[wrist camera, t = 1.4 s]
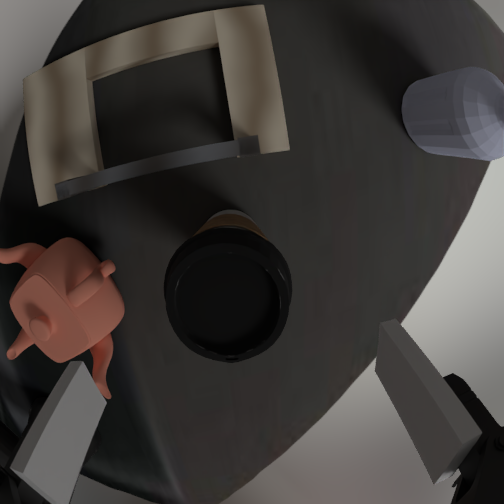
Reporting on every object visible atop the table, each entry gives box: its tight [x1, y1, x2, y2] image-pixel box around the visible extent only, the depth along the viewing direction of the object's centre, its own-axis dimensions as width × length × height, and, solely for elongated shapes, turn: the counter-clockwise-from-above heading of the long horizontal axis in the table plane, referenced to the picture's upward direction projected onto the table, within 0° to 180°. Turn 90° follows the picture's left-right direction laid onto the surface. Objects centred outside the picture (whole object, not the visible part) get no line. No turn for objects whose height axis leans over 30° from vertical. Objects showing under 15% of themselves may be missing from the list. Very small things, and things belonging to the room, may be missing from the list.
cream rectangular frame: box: [23, 5, 290, 206], centre depth 22 cm, size 28×16×8 cm, turn 99°
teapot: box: [0, 237, 125, 399], centre depth 27 cm, size 14×14×11 cm
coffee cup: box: [164, 210, 292, 363], centre depth 24 cm, size 8×8×15 cm
